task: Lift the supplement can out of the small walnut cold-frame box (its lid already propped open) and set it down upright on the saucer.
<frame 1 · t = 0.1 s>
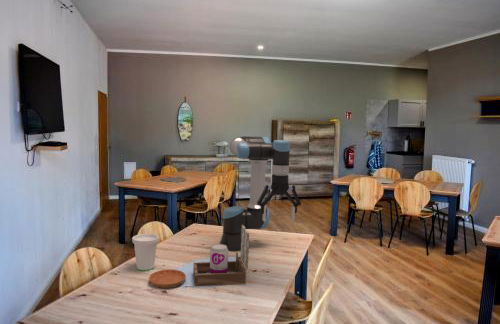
hand: (278, 220, 171), 28 cm above the table, fingers open, 13 cm apart
saucer: (167, 282, 167), on the table
cup: (145, 268, 183), on the table
supplement can: (218, 278, 173), resting in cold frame
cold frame: (218, 278, 173), on the table
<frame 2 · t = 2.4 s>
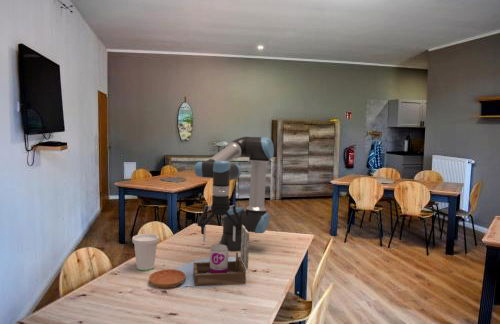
hand: (219, 240, 171), 18 cm above the table, fingers open, 13 cm apart
nothing on the table moved.
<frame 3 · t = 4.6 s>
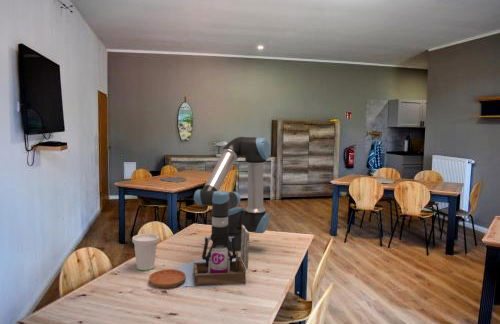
hand: (218, 273, 173), 2 cm above the table, fingers closed on supplement can, 8 cm apart
supplement can: (218, 278, 173), resting in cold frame, touching gripper
everything else where it was.
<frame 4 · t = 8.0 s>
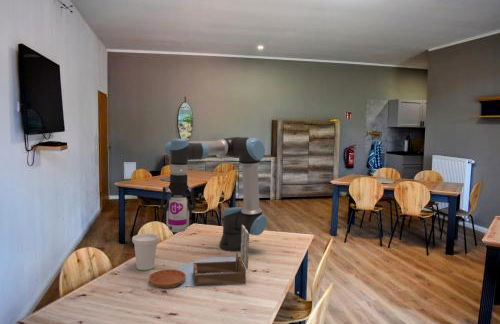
hand: (177, 224, 166), 26 cm above the table, fingers closed on supplement can, 8 cm apart
supplement can: (177, 230, 166), point 23 cm above the table, touching gripper
everything else where it was.
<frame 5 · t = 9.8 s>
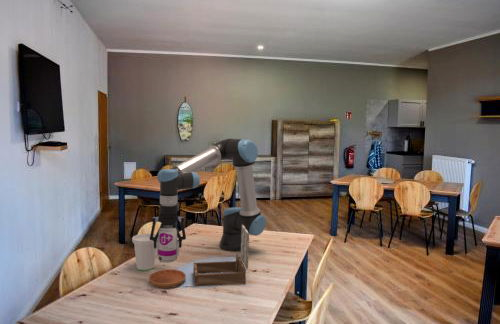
hand: (167, 254, 166), 12 cm above the table, fingers closed on supplement can, 8 cm apart
supplement can: (167, 260, 166), point 10 cm above the table, touching gripper
everything else where it was.
when the fingers open (6 cm above the table, at t = 11.4 s): supplement can drops 1 cm, resting on saucer.
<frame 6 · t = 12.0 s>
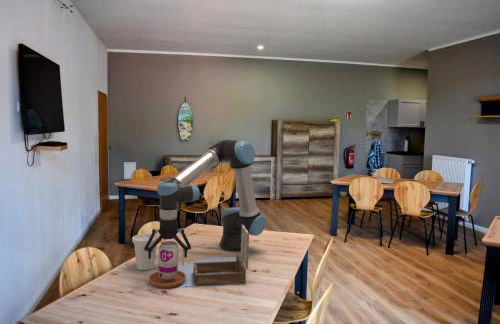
hand: (167, 265, 167), 8 cm above the table, fingers open, 13 cm apart
saucer: (167, 283, 167), on the table, touching supplement can
supplement can: (167, 276, 167), point 2 cm above the table, touching saucer
everything else where it was.
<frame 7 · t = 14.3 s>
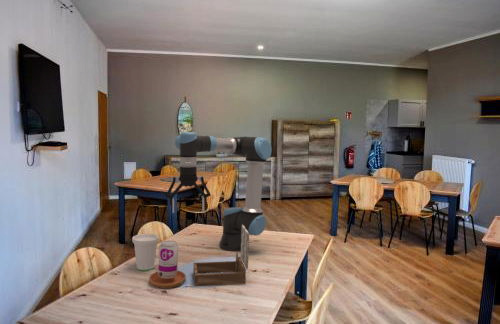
hand: (188, 211, 173), 30 cm above the table, fingers open, 13 cm apart
nothing on the table moved.
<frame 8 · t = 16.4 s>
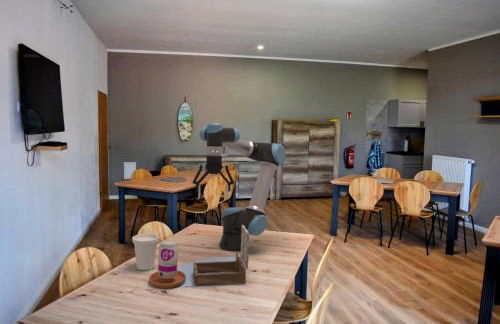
hand: (213, 198, 184), 35 cm above the table, fingers open, 13 cm apart
nothing on the table moved.
at the end: supplement can 0.2 cm from the saucer (horizontally); supplement can tilted 4°; supplement can inside the target area (1.1 cm from its centre), point 2.6 cm above the table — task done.
